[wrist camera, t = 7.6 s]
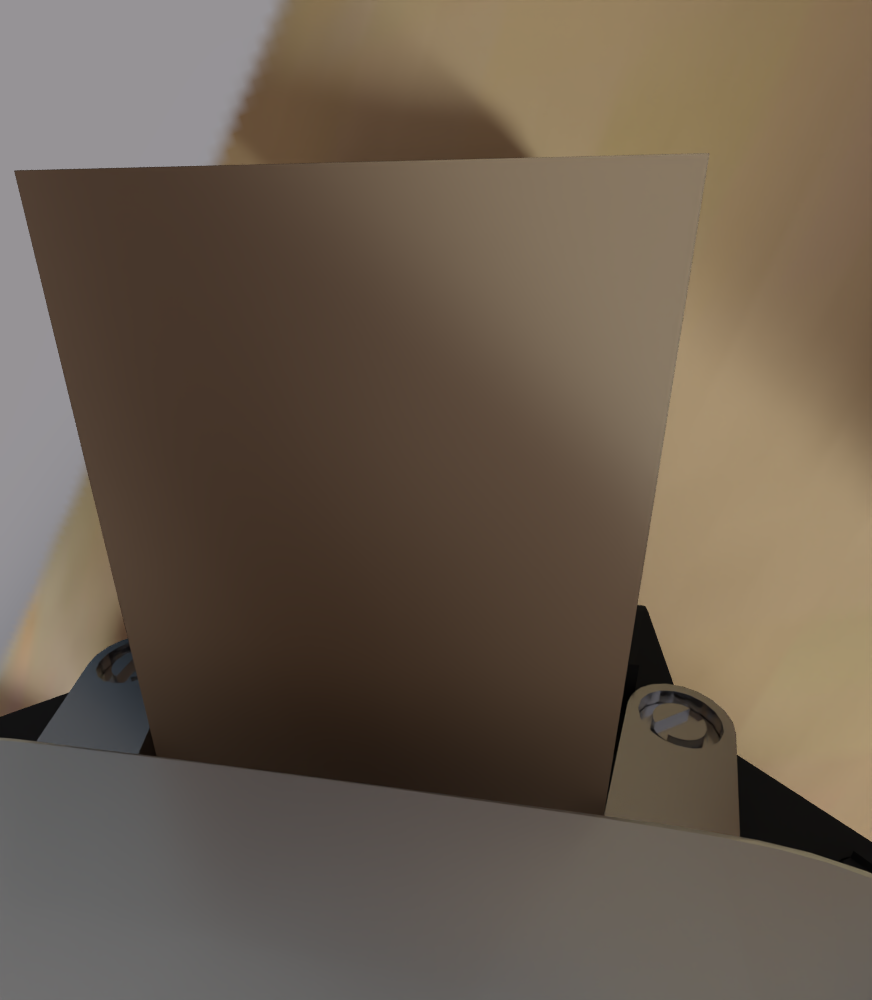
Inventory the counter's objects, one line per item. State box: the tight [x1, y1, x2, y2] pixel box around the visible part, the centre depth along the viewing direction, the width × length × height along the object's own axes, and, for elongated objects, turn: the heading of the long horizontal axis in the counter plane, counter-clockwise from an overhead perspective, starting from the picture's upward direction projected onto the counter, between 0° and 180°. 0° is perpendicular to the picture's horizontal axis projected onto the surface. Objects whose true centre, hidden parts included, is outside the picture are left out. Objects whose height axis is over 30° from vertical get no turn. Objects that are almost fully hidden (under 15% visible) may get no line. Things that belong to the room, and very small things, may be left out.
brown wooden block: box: [14, 153, 709, 816], centre depth 10 cm, size 5×14×8 cm, turn 0°
